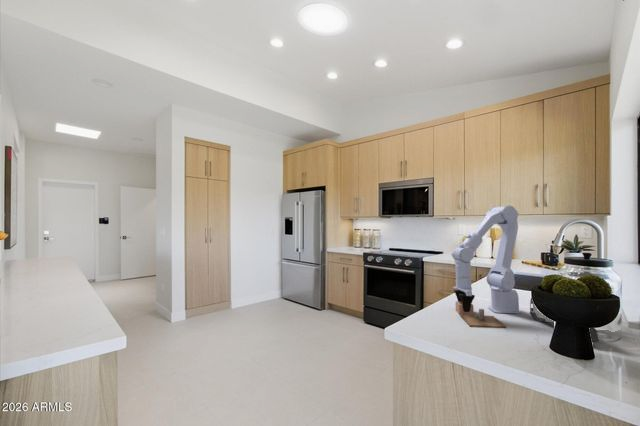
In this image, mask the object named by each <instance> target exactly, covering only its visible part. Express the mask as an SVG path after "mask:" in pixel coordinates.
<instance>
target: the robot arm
mask: <svg viewBox="0 0 640 426" xmlns="http://www.w3.org/2000/svg"><path fill="white" fill-rule="evenodd" d="M518 217H519V211H517V209H516V208H515V207H514V206H513V205H510V204H509V205H503V206H491V207H490V208H489V210H488V211H487V212H486V213H485V217H484V218H483V219H482V221H481V223H480V224H479V226H478V227H477V228H476V229H475V231H474V232H470V233H469V234H467V235H466V236H465V237H466V238H465V239H464V241H462V242H461V243H460V244H459V246H458V247H456V248H454V249H453V252H452V253H451V256H452V259H453V260H454V264H455V267H454V268H455V286H452V289H453V292H454V294H455V297H456V299H457V301H460V302H462V306H463V310H464V312H470V308H471V304H473V301H474V299H475V295H474V294H473V287H472V270H471V261H473V259H474V257H475V252H476V250H477V249H478V248H479V247H480V245H481V244H482V243H483V237H484V236H485V235H486V234H487V232H488V231H490V229H491V228H492V227H493V226H494V225H498V226H499V227H500V229H501V235H500V241H499V246H498V251H497V255H496V261H495V264H494V266H492V267H491V268H490V270H489V272H488V274H487V275H486V282H487V285H488V286H489V288H490V296H491V297H490V299H491V300H490V301H491V305H490V306H487V308H488V309H489V310H491V311H492V312H493V313H496V314H497V313H498V314H520V313H521V312H520V305H519V295H518V292H517V290H515V289H514V287H515V286H516V285H515V284H516V281H515V272H514V271H513V269H511V267H512V266H511V265H512V262H513V256H514V250H515V246H516V241H517V236H518V232H519V231H518V230H519V224H518V223H519V222H518Z"/></svg>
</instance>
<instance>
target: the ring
mask: <svg viewBox="0 0 640 426" xmlns="http://www.w3.org/2000/svg"><path fill="white" fill-rule="evenodd" d="M455 311H456V313H457V314H458V315H459V316H460V315H475V314H474V312H475V311H474V304H473V303H472V304H471V308H470V312H464V310H463V306H462V302H460V301H458V300H456V301H455Z"/></svg>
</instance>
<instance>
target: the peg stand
mask: <svg viewBox="0 0 640 426" xmlns="http://www.w3.org/2000/svg"><path fill="white" fill-rule="evenodd" d="M459 316H460V318H461V319H462V320H463V321H464V323H466V325H468V326H469V327H470V328H491V329H492V328H495V329H496V328H497V329H501V328H502V329H506V328H507V326H506V324H504V323H503V322H501V321H500V320H499V319H497V317H495V316H494V315H485V309H484V308H478V315H475V314H474V315H459Z"/></svg>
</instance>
